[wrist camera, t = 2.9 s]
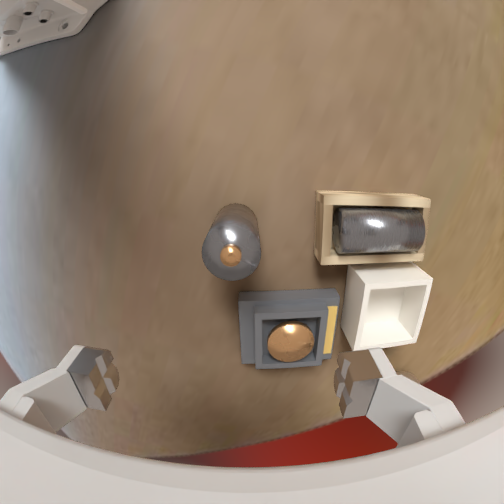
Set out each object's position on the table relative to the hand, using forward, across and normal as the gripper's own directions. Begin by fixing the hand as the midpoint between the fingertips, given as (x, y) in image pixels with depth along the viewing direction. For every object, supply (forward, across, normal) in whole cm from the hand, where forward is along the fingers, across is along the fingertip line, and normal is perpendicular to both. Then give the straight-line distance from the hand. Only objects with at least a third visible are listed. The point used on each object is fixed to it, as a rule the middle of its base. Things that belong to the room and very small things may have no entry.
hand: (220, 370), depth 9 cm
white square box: (+19, -15, +8) cm, 25 cm away
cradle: (+19, -4, +10) cm, 22 cm away
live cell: (+19, -12, 0) cm, 23 cm away
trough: (+19, -12, 0) cm, 23 cm away
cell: (+19, 0, 0) cm, 19 cm away
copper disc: (+16, -5, +11) cm, 20 cm away
